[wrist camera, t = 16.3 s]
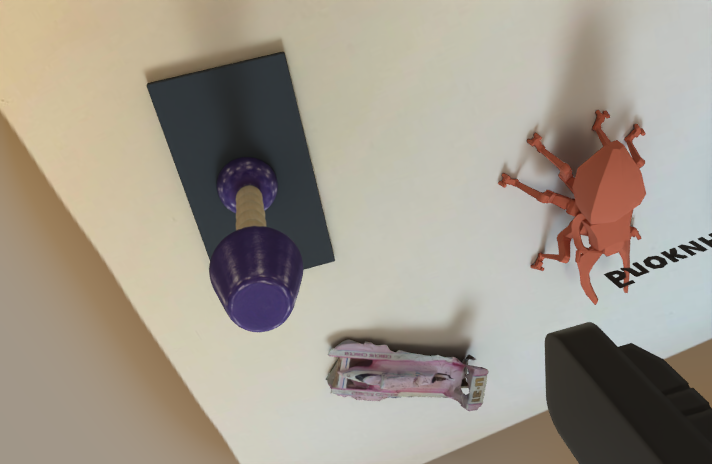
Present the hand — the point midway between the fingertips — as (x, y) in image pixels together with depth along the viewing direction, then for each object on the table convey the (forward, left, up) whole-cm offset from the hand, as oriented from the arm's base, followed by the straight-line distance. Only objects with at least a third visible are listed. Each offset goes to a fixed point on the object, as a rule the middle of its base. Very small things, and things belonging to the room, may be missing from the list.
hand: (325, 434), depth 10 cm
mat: (+7, -2, -32) cm, 33 cm away
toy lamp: (+7, -2, -31) cm, 32 cm away
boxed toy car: (+27, +6, -32) cm, 42 cm away
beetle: (+16, +23, -32) cm, 42 cm away
